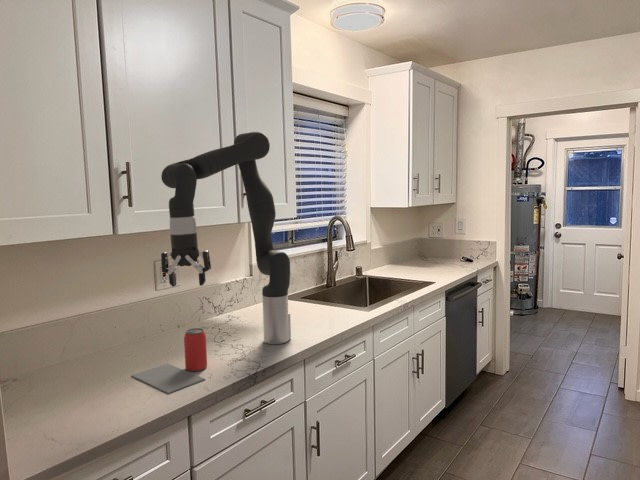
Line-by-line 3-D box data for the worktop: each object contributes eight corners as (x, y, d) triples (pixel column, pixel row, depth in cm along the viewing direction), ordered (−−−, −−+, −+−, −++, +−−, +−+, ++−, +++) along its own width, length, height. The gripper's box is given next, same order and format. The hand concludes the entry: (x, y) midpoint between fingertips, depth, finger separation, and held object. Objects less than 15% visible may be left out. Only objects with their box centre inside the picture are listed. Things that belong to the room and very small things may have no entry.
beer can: (184, 365, 146) (182, 329, 145) (205, 362, 148) (204, 326, 147) (186, 373, 140) (184, 334, 139) (208, 370, 142) (206, 332, 141)
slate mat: (167, 364, 147) (167, 363, 147) (205, 379, 135) (205, 378, 134) (131, 376, 138) (131, 375, 138) (168, 394, 125) (168, 392, 125)
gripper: (210, 229, 140) (214, 282, 142) (164, 231, 141) (169, 283, 143) (203, 232, 132) (207, 287, 134) (154, 234, 133) (159, 289, 135)
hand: (187, 285), depth 138 cm, fingers open, 8 cm apart
